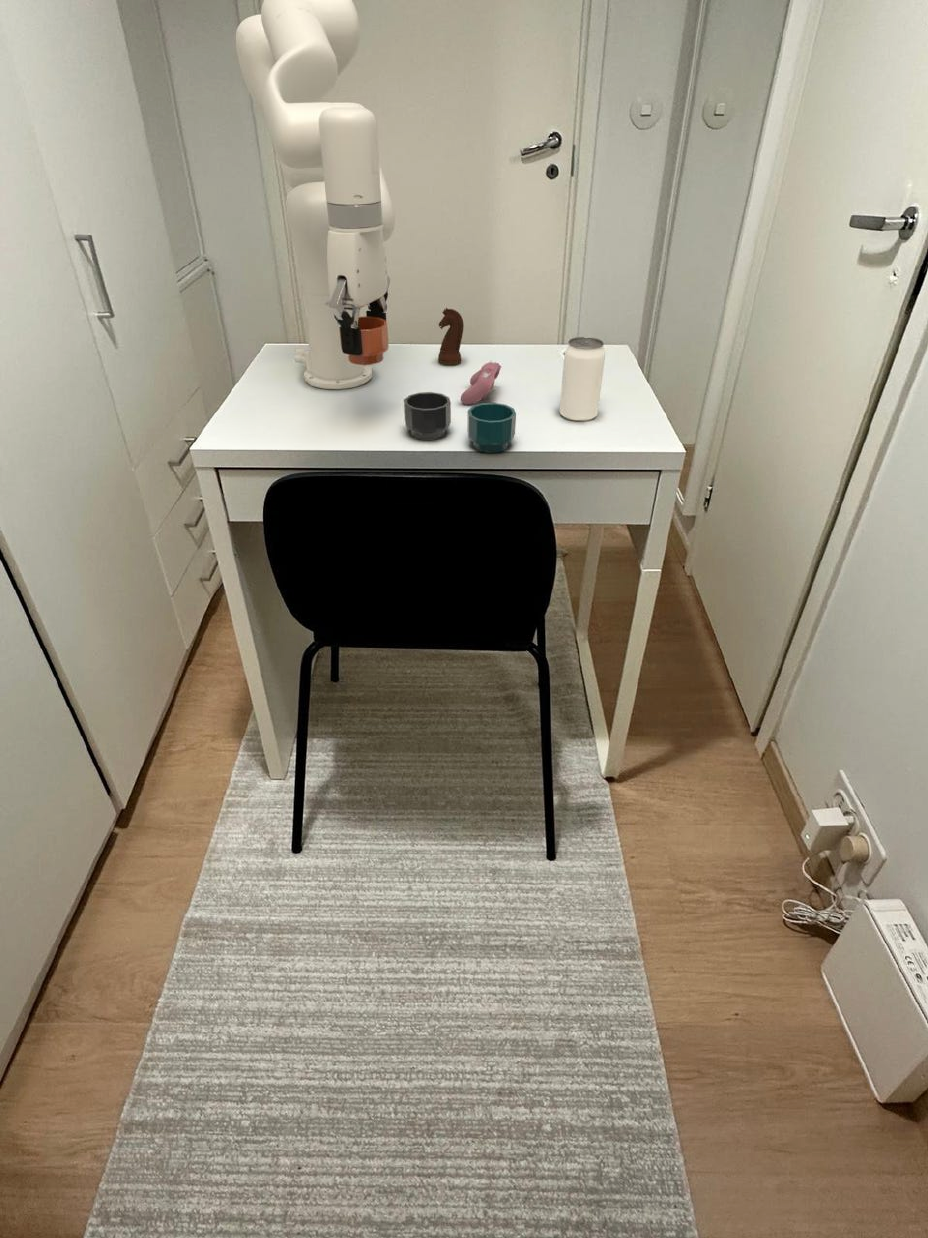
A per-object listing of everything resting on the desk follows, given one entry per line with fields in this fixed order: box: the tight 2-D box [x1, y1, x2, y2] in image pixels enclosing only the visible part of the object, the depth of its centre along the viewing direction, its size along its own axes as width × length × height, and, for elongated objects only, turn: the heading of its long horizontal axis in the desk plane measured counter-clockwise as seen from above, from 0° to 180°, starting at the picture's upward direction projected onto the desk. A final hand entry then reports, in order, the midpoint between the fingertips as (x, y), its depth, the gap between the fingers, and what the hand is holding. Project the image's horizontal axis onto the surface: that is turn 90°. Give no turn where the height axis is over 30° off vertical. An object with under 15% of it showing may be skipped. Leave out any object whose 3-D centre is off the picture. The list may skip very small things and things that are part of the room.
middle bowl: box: [339, 316, 389, 366], centre depth 111 cm, size 7×7×5 cm
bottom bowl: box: [403, 391, 452, 441], centre depth 115 cm, size 7×7×5 cm
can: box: [559, 336, 606, 422], centre depth 119 cm, size 6×6×12 cm
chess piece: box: [437, 307, 465, 367], centre depth 140 cm, size 5×5×10 cm
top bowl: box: [466, 402, 517, 454], centre depth 112 cm, size 7×7×5 cm
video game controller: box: [460, 359, 502, 405], centre depth 127 cm, size 10×5×7 cm, turn 168°
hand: (365, 345), depth 112 cm, fingers closed on middle bowl, 7 cm apart
